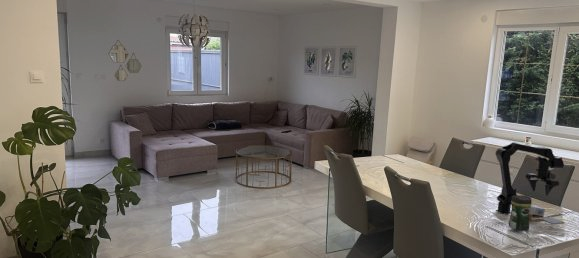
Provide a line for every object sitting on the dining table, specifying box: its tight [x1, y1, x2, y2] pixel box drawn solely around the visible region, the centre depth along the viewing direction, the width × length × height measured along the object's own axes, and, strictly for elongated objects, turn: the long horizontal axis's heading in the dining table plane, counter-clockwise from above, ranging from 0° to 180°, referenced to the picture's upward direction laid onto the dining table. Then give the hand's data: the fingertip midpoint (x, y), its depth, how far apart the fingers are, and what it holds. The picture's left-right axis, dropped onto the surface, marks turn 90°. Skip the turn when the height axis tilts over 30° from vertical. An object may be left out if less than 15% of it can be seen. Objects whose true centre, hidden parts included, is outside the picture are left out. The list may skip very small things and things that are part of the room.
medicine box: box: [529, 204, 546, 217], centre depth 250 cm, size 8×4×9 cm
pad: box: [542, 217, 565, 225], centre depth 240 cm, size 9×8×1 cm
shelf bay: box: [529, 213, 544, 223], centre depth 243 cm, size 10×8×4 cm
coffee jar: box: [508, 194, 533, 232], centre depth 224 cm, size 10×8×19 cm
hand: (540, 193), depth 252 cm, fingers open, 9 cm apart
